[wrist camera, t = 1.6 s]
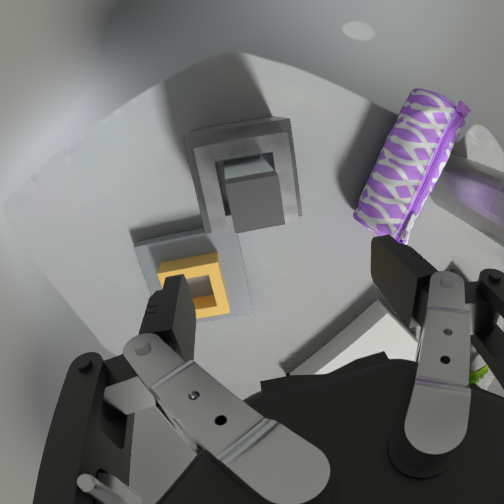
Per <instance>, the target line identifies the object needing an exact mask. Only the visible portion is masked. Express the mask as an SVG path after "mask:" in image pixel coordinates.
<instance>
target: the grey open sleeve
mask: <svg viewBox="0 0 504 504" xmlns="http://www.w3.org/2000/svg"><path fill="white" fill-rule="evenodd" d="M184 140H185V145H186V150H187V154H188V159H189V164H190V168H191V173H192V178H193V182H194V187H195V191H196V195H197V200H198V204H199V208H200V213H201V217H202V221H203V226H204V230H205V234H208V233H212V234H213V235H214V234H219V233H224V232H229V231H234V226H233V221H232V216H231V211H230V206H229V201H228V196H227V191H226V185H225V172H224V162H229V161H235V160H240V159H246V158H252V157H257V156H262V157H263V158H264V159H265V160H266V161H267V163H268V164H269V165H270V166H271V167H272V168H273V169H274V171H275V172H276V173H277V174H278V175H279V183H280V190H281V197H282V204H283V212H284V220H285V221H288V220H294V219H298V217H299V216H302V211H301V202H300V193H299V184H298V176H297V168H296V160H295V153H294V145H293V138H292V131H291V124H290V119H289V118H282V117H274V116H272V117H265V118H258V119H251V120H245V121H239V122H234V123H228V124H223V125H217V126H212V127H207V128H203V129H198V130H193V131H192V132H190V133H189V134H187V135H186V136H185V137H184Z"/></svg>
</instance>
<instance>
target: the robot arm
mask: <svg viewBox="0 0 504 504" xmlns="http://www.w3.org/2000/svg"><path fill="white" fill-rule="evenodd" d="M430 194H431V197H432V199H433V201H434V202H435V203H436V204H437V205H438V206H439V207H441V208H443V209H445V210H446V211H448V212H450V213H451V214H453V215H455V216H456V217H458V218H459V219H461V220H463V221H464V222H466V223H468V224H469V225H471V226H472V227H474V228H476V229H477V230H479V231H480V232H482V233H483V234H485V235H486V236H488V237H489V238H491V239H492V240H494V241H495V242H497V243H498V244H500V245H501V246H503V247H504V172H501V171H499V170H496V169H494V168H491V167H489V166H486V165H483V164H480V163H478V162H475V161H472V160H470V159H467V158H464V157H461V156H457V155H454V154H450V156H449V158H448V160H447V162H446V165H445V167H444V168H443V170H442V172H441V174H440V176H439V178H438V180H437V181H436V183H435V185H434V188H433V189H432V191H431V192H430ZM371 276H372V279H373V281H374V283H375V284H376V286H377V287H378V288H379V290H380V291H381V292H382V293H383V295H384V296H385V297H386V299H387V300H388V301H389V302H390V304H391V305H392V306H393V308H394V309H395V310H396V312H397V313H398V314H399V316H400V317H401V318H402V320H403V321H404V322H405V324H406V325H407V326H408V328H409V329H410V328H413V327H416V326H419V325H420V326H421V330H420V335H419V340H418V345H417V350H416V355H415V360H414V361H411V360H406V359H389V358H388V357H387V355H386V353H385V352H384V351H382V352H379V353H376V354H372V355H369V356H366V357H362V358H359V359H356V360H354V361H352V362H350V363H348V364H346V365H344V366H342V367H340V368H338V369H336V370H334V371H332V372H330V373H327V374H313V375H290V376H286V377H281V378H276V379H271V380H265V381H260V383H261V390H262V391H260V392H257V393H255V394H253V395H251V396H249V397H248V398H246V399H245V400H243V401H242V400H241V399H239V398H238V397H237V396H236V395H234V394H233V393H232V392H231V391H229V390H228V389H227V388H226V387H224V386H223V385H222V384H221V383H219V382H218V381H217V380H216V379H215V378H213V377H212V376H211V375H210V374H209V373H207V372H206V371H205V370H204V369H203V368H202V367H200V366H199V365H198V364H197V363H196V362H194V361H193V360H194V343H195V329H196V311H195V306H194V303H193V300H192V297H191V294H190V290H189V287H188V284H187V281H186V278H185V276H184V274H179V275H174V276H169V277H166V278H165V281H164V285H163V289H162V290H157V291H155V292H154V294H153V295H152V296H151V297H150V298H149V301H148V304H147V308H146V311H145V315H144V317H143V321H142V324H141V328H140V331H139V335H137V336H135V337H133V338H132V339H130V340H129V341H128V342H127V343H126V345H125V346H124V349H123V354H122V355H119V356H116V357H114V358H111V359H108V360H105V361H104V360H103V359H102V357H101V355H99V354H98V353H95V352H88V353H85V354H82V355H80V356H79V357H77V358H76V359H75V360H74V361H73V362H72V363H71V365H70V367H69V370H68V372H67V375H66V378H65V381H64V384H63V387H62V390H61V393H60V396H59V399H58V402H57V405H56V409H55V412H54V415H53V419H52V422H51V425H50V429H49V433H48V437H47V440H46V444H45V448H44V452H43V456H42V461H41V464H40V469H39V474H38V479H37V483H36V489H35V494H34V500H33V504H142V501H141V499H140V497H139V495H138V494H137V493H136V492H135V491H133V490H132V489H131V488H129V474H130V459H131V458H130V457H131V446H132V435H133V425H134V415H135V412H137V411H140V410H142V409H145V408H148V407H151V406H155V407H156V408H157V409H158V411H159V412H160V413H161V414H162V415H163V417H164V418H165V419H166V420H167V421H168V423H169V424H170V425H171V426H172V427H173V428H174V429H175V431H176V432H177V433H178V434H179V435H180V436H181V437H182V439H183V440H184V441H185V442H186V443H187V445H188V446H189V447H190V448H191V449H192V451H193V452H194V453H195V454H196V455H197V456H196V457H195V458H194V459H193V461H192V462H191V463H190V464H189V466H188V467H187V468H186V469H185V470H184V472H183V473H182V474H181V475H180V476H179V477H178V479H177V480H176V481H175V482H174V483H173V485H172V486H171V487H170V488H169V489H168V490H167V491H166V492H165V494H164V495H163V496H162V497H161V498H160V499H159V500H158V501H157V503H156V504H504V397H501V396H499V395H496V394H494V393H491V392H489V391H486V390H484V389H481V388H479V387H476V386H474V385H471V384H469V368H470V342H471V343H472V344H473V346H474V347H475V348H476V350H477V351H478V353H479V354H480V355H481V357H482V358H483V360H484V361H485V362H486V364H487V365H488V367H489V368H490V370H491V371H492V372H493V374H494V375H495V377H496V378H497V380H498V381H499V383H500V384H501V386H502V387H503V389H504V332H503V331H502V330H501V329H500V328H499V326H498V325H497V324H496V323H497V320H498V318H499V315H501V316H502V317H503V318H504V273H503V272H501V271H499V270H496V269H485V270H482V271H481V272H480V275H479V280H478V281H477V282H464V281H463V279H462V278H461V277H460V276H459V275H457V274H456V273H453V272H449V271H438V270H437V269H435V268H434V267H433V266H432V265H431V264H430V263H429V262H428V261H426V260H425V259H423V257H422V256H421V255H420V254H418V253H417V252H416V251H415V250H414V249H413V248H412V247H410V246H407V245H405V244H403V243H399V242H398V241H397V240H396V239H394V238H393V237H392V236H391V235H389V234H388V235H383V236H378V237H374V238H373V239H372V242H371Z"/></svg>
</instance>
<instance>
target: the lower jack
mask: <svg viewBox="0 0 504 504" xmlns="http://www.w3.org/2000/svg"><path fill="white" fill-rule="evenodd" d="M134 248H135V251H136V254H137V257H138V260H139V263H140V266H141V269H142V271H143V274H144V277H145V280H146V282H147V285H148V288H149V290H150V293H151V295H153V294H154V292H155V291H157V290H162V289H163V285H164V281H165V278H166V277H169V276H174V275H179V274H184V276H185V278H186V281H187V284H188V287H189V290H190V294H191V297H192V300H193V303H194V306H195V311H196V323H197V322H203V321H209V320H215V319H221V318H227V317H233V316H238V315H244V314H249V313H253V309H252V303H251V298H250V293H249V288H248V283H247V278H246V273H245V268H244V263H243V258H242V253H241V248H240V243H239V238H238V233H235V231H229V232H224V233H219V234H214V235H213V234H212V233H208V234H205V230H204V228H199V229H194V230H189V231H184V232H179V233H174V234H169V235H165V236H160V237H155V238H150V239H146V240H141V241H137V243H136V245H135V247H134Z"/></svg>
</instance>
